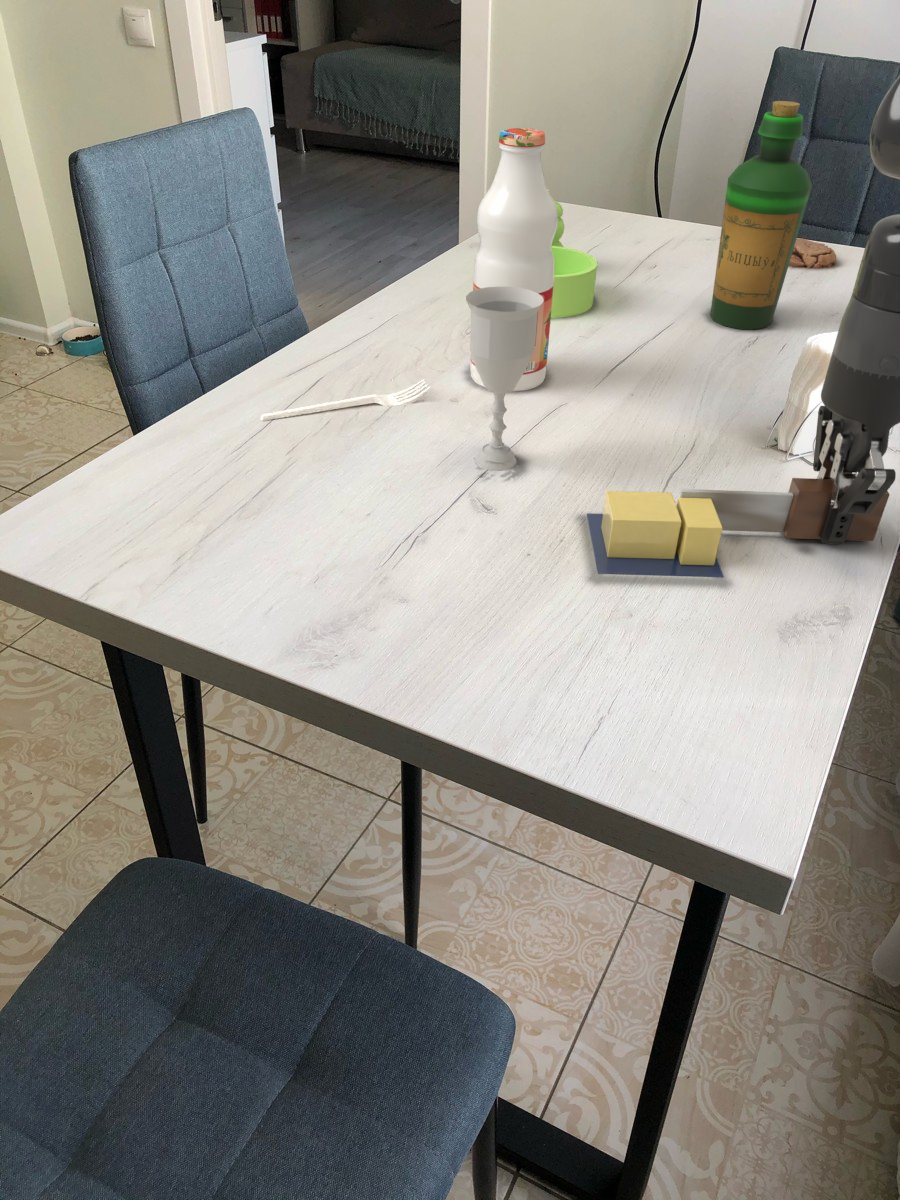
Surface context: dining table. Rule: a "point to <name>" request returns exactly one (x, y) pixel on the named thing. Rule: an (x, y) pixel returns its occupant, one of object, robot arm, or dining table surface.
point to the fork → (355, 402)
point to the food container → (571, 276)
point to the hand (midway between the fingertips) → (826, 531)
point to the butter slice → (698, 531)
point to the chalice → (501, 355)
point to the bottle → (761, 224)
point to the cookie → (812, 255)
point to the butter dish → (643, 563)
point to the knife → (787, 510)
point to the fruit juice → (519, 237)
